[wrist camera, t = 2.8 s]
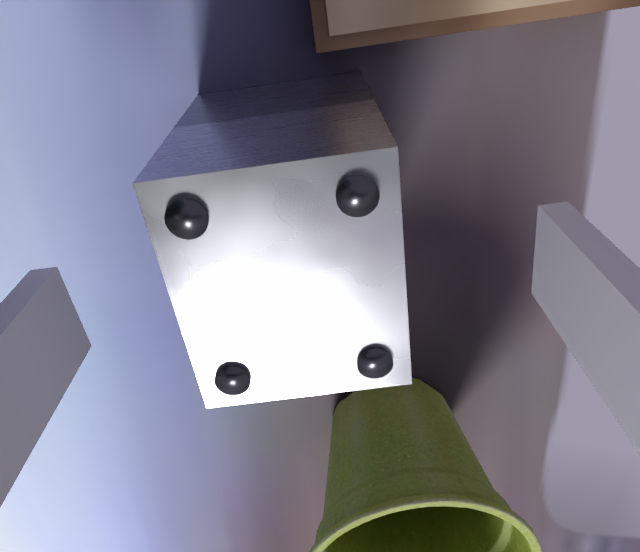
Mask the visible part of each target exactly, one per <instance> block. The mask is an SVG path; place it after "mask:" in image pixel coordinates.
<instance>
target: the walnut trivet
mask: <svg viewBox="0 0 640 552" xmlns="http://www.w3.org/2000/svg"><path fill="white" fill-rule="evenodd" d="M635 6H640V0H310V8H311V15H312V23H313V31H314V39H315V47H316V53H322V52H329V51H336V50H343V49H350V48H356V47H363V46H370V45H377V44H384V43H390V42H397V41H404V40H411V39H418V38H425V37H431V36H438V35H445V34H452V33H459V32H465V31H472V30H479V29H486V28H493V27H499V26H506V25H513V24H520V23H527V22H533V21H540V20H547V19H554V18H561V17H567V16H574V15H581V14H588V13H595V12H601V11H608V10H615V9H622V8H628V7H635Z"/></svg>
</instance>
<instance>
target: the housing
mask: <svg viewBox="0 0 640 552" xmlns="http://www.w3.org/2000/svg"><path fill="white" fill-rule="evenodd" d="M133 186H134V189H135V192H136V195H137V198H138V201H139V204H140V208H141V211H142V214H143V217H144V220H145V223H146V226H147V229H148V232H149V235H150V238H151V241H152V244H153V247H154V250H155V253H156V256H157V259H158V262H159V265H160V268H161V271H162V274H163V277H164V280H165V283H166V286H167V290H168V293H169V296H170V299H171V302H172V305H173V308H174V311H175V314H176V317H177V320H178V323H179V326H180V329H181V332H182V335H183V338H184V341H185V344H186V347H187V350H188V353H189V356H190V359H191V362H192V365H193V368H194V372H195V375H196V378H197V381H198V384H199V387H200V390H201V393H202V396H203V399H204V402H205V405H206V408H214V407H223V406H231V405H240V404H248V403H256V402H265V401H273V400H282V399H290V398H298V397H307V396H315V395H324V394H332V393H340V392H349V391H357V390H366V389H374V388H382V387H391V386H399V385H408V384H412V374H411V357H410V341H409V324H408V307H407V290H406V273H405V256H404V240H403V223H402V206H401V189H400V172H399V155H398V146H397V144H396V142H395V140H394V138H393V136H392V134H391V132H390V130H389V128H388V126H387V124H386V122H385V120H384V118H383V116H382V114H381V112H380V110H379V108H378V106H377V104H376V102H375V100H374V98H373V96H372V94H371V92H370V90H369V88H368V86H367V84H366V82H365V80H364V78H363V76H362V74H361V72H360V71H358V72H351V73H344V74H337V75H330V76H324V77H317V78H310V79H303V80H296V81H289V82H282V83H275V84H268V85H261V86H254V87H247V88H240V89H234V90H227V91H220V92H213V93H206V94H199V95H198V96H197V97H196V98H195V100H194V101H193V102H192V104H191V105H190V107H189V108H188V109H187V111H186V112H185V113H184V115H183V116H182V117H181V119H180V120H179V121H178V123H177V124H176V125H175V127H174V128H173V129H172V131H171V132H170V133H169V135H168V136H167V138H166V139H165V140H164V142H163V143H162V144H161V146H160V147H159V148H158V150H157V151H156V152H155V154H154V155H153V156H152V158H151V159H150V160H149V162H148V163H147V165H146V166H145V167H144V169H143V170H142V171H141V173H140V174H139V175H138V177H137V178H136V179H135V181H134V182H133Z"/></svg>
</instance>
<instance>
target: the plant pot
mask: <svg viewBox="0 0 640 552" xmlns="http://www.w3.org/2000/svg"><path fill="white" fill-rule="evenodd" d="M310 552H542V550H541V547H540V544H539V542H538V539H537V537H536V535H535V534H534V532H533V530H532V528H531V527H530V526H529V525H528V524H527V523H526V522H525V521H524V520H523V519H522V518H521V517H520V516H519V515H517V514H516V513H515V512H513V511H512V510H511V508H510V507H509V505H508V504H507V503H506V501H505V500H504V499H503V498H502V497H501V496H500V495H499V494H498V493H497V492H496V491H495V490H494V488H493V487H492V485H491V483H490V481H489V480H488V478H487V476H486V474H485V472H484V471H483V469H482V467H481V465H480V463H479V462H478V460H477V458H476V456H475V454H474V452H473V451H472V449H471V447H470V445H469V443H468V442H467V440H466V438H465V436H464V434H463V432H462V430H461V428H460V427H459V425H458V423H457V421H456V419H455V417H454V415H453V413H452V411H451V410H450V408H449V406H448V404H447V402H446V400H445V399H444V397H443V396H442V395H441V394H440V393H439V392H437V391H436V390H434V389H433V388H432V387H430V386H429V385H427V384H426V383H424V382H423V381H422V380H420V379H416V378H413V377H412V384H408V385H399V386H391V387H382V388H374V389H366V390H357V391H353V392H352V393H351V394H350V395H349V396H348V397H347V398H345V399H344V400H342V401H340V402H339V404H338V405H337V407H336V409H335V412H334V415H333V422H332V434H331V445H330V454H329V464H328V473H327V483H326V493H325V503H324V513H323V519H322V521H321V523H320V525H319V527H318V530H317V534H316V540H315V544H314V545H313V547H312V548H311V550H310Z"/></svg>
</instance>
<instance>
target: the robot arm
mask: <svg viewBox="0 0 640 552" xmlns="http://www.w3.org/2000/svg"><path fill="white" fill-rule="evenodd" d="M531 293H532V295H533V296H534V298H535V299H536V301H537V302H538V304H539V305H540V307H541V308H542V310H543V311H544V313H545V314H546V316H547V317H548V319H549V320H550V322H551V323H552V325H553V326H554V328H555V329H556V331H557V332H558V334H559V335H560V337H561V338H562V339H563V341H564V342H565V344H566V345H567V347H568V348H569V350H570V351H571V353H572V354H573V356H574V357H575V359H576V360H577V362H578V363H579V365H580V366H581V368H582V369H583V371H584V372H585V374H586V375H587V377H588V378H589V380H590V381H591V383H592V384H593V386H594V387H595V389H596V390H597V392H598V393H599V394H600V396H601V398H602V399H603V401H604V402H605V404H606V405H607V407H608V408H609V410H610V411H611V413H612V414H613V416H614V417H615V419H616V420H617V422H618V423H619V425H620V426H621V427H622V429H623V430H624V432H625V433H626V435H627V436H628V438H629V439H630V441H631V442H632V444H633V445H634V447H635V448H636V450H637V451H638V453H639V454H640V269H639V267H638V266H636V265H635V264H634V263H633V262H632V261H631V260H630V259H629V258H628V257H627V256H626V255H625V254H624V253H622V252H621V251H620V250H619V249H618V248H617V247H616V246H615V245H614V244H613V243H612V242H611V241H610V240H609V239H607V238H606V237H605V236H604V235H603V234H602V233H601V232H600V231H599V230H598V229H597V228H596V227H595V226H593V225H592V224H591V223H590V222H589V221H588V220H587V219H586V218H585V217H584V216H583V215H582V214H581V213H579V212H578V211H577V210H576V209H575V208H574V207H573V206H572V205H571V204H570V203H569V202H568V201H567V202H559V203H551V204H543V205H538V212H537V225H536V238H535V251H534V264H533V277H532V291H531ZM90 347H91V344H90V342H89V339H88V337H87V335H86V332H85V330H84V328H83V325H82V323H81V321H80V319H79V316H78V314H77V312H76V309H75V307H74V305H73V303H72V300H71V298H70V296H69V293H68V291H67V289H66V286H65V284H64V282H63V280H62V277H61V275H60V273H59V270H58V268H57V267H52V268H45V269H37V270H30V271H29V272H28V273H27V275H26V276H25V277H24V278H23V279H22V280H21V281H20V282H19V283H18V284H17V286H16V287H15V288H14V289H13V290H12V291H11V292H10V293H9V294H8V296H7V297H6V298H5V299H4V300H3V301H2V302H1V303H0V507H1V505H2V503H3V501H4V500H5V498H6V496H7V494H8V492H9V491H10V489H11V487H12V485H13V484H14V482H15V480H16V478H17V477H18V475H19V473H20V471H21V469H22V468H23V466H24V464H25V462H26V461H27V459H28V457H29V455H30V454H31V452H32V450H33V448H34V446H35V445H36V443H37V441H38V439H39V438H40V436H41V434H42V432H43V431H44V429H45V427H46V425H47V423H48V422H49V420H50V418H51V416H52V415H53V413H54V411H55V409H56V408H57V406H58V404H59V402H60V400H61V399H62V397H63V395H64V393H65V392H66V390H67V388H68V386H69V385H70V383H71V381H72V379H73V377H74V376H75V374H76V372H77V370H78V369H79V367H80V365H81V363H82V362H83V360H84V358H85V356H86V354H87V353H88V351H89V349H90Z"/></svg>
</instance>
